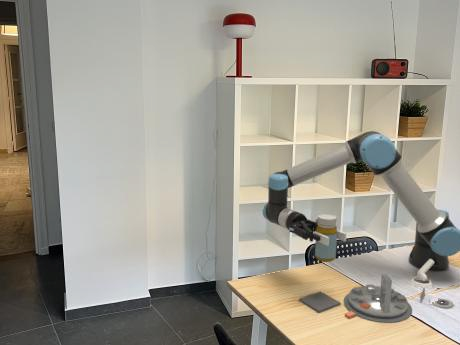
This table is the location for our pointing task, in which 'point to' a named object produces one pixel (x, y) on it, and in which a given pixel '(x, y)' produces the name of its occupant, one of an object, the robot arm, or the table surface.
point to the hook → (423, 275)
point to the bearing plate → (391, 320)
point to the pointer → (350, 315)
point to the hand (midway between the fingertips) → (336, 239)
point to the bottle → (328, 229)
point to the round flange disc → (378, 300)
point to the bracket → (438, 303)
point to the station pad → (319, 302)
